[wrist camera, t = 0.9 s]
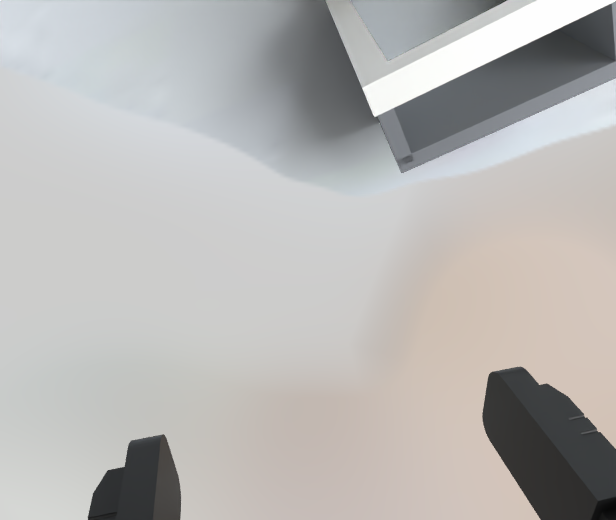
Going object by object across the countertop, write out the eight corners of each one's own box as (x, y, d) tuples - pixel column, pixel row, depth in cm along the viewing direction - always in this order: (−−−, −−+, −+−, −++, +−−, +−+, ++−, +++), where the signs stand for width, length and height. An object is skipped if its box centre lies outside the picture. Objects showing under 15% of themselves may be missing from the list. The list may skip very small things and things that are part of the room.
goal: (321, -9, 31) (362, 87, 17) (549, -137, 27) (839, -151, 13) (377, 123, 37) (441, 277, 23) (570, 31, 33) (788, 145, 19)
